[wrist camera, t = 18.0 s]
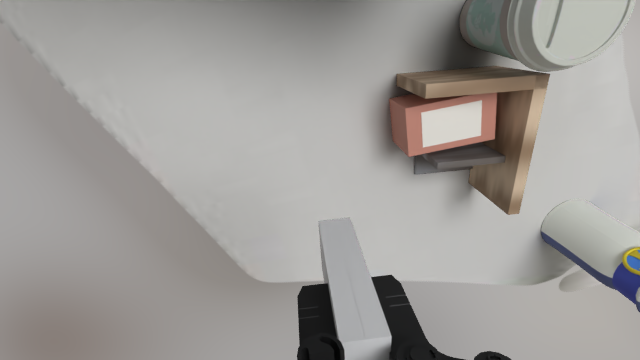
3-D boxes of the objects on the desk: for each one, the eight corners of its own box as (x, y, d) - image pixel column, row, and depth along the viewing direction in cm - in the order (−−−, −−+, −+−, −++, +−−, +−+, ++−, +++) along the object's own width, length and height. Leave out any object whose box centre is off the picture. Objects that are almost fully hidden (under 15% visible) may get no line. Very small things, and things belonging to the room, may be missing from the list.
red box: (388, 98, 36) (405, 108, 31) (467, 82, 36) (497, 89, 31) (392, 140, 38) (408, 157, 33) (467, 125, 38) (495, 139, 33)
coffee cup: (485, -52, 30) (596, -100, 20) (543, 2, 33) (670, -14, 22) (429, 32, 33) (499, 31, 22) (487, 77, 36) (575, 95, 25)
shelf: (396, 74, 34) (426, 84, 27) (495, 65, 35) (549, 73, 28) (393, 190, 40) (416, 224, 33) (477, 181, 41) (518, 213, 34)
